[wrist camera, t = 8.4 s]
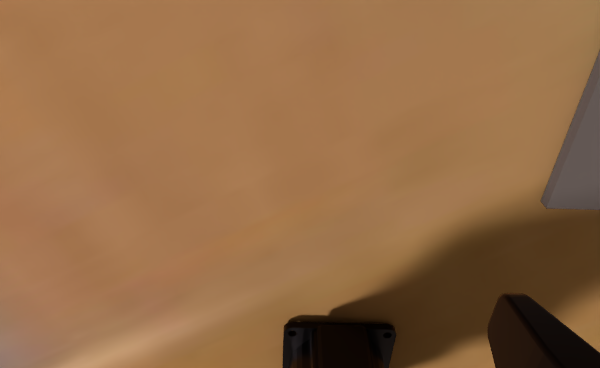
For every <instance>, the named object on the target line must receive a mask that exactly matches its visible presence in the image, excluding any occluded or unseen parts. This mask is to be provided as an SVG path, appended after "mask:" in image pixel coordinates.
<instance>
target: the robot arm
mask: <svg viewBox="0 0 600 368" xmlns="http://www.w3.org/2000/svg"><path fill="white" fill-rule="evenodd" d="M292 330H293V331H292ZM395 338H396V332H395V328H394V326H393V325H390V324H362V323H313V322H289V323H287V324H286V325H285V326H284V339H283V368H389V364H390V360H391V355H392V351H393V346H394V342H395ZM488 339H489V343H490V347H491V351H492V355H493V359H494V363H495V367H496V368H600V353H599V352H598V351H597V350H596V349H594V348H593V347H592V346H591V345H589V344H588V343H587V342H586V341H584V340H583V339H582V338H581V337H579V336H578V335H577V334H576V333H574V332H573V331H572V330H571V329H569V328H568V327H567V326H565V325H564V324H563V323H562V322H560V321H559V320H558V319H557V318H555V317H554V316H553V315H552V314H550V313H549V312H548V311H547V310H545V309H544V308H543V307H542V306H540V305H539V304H538V303H537V302H535V301H534V300H533V299H532V298H530V297H529V296H527V295H525V294H517V293H504V294H502V295H500V296H499V298H498V300H497V303H496V305H495V308H494V310H493V313H492V315H491V318H490V321H489V324H488Z"/></svg>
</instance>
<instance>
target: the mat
mask: <svg viewBox="0 0 600 368" xmlns="http://www.w3.org/2000/svg"><path fill="white" fill-rule="evenodd" d="M541 202H542V203H543V205H544V206H545V207H546V208H551V209H587V210H600V51H599V54H598V56H597V59H596V62H595V64H594V67H593V69H592V72H591V74H590V77H589V79H588V82H587V84H586V87H585V90H584V92H583V95H582V97H581V100H580V102H579V105H578V107H577V110H576V112H575V115H574V118H573V120H572V123H571V125H570V128H569V130H568V133H567V135H566V138H565V140H564V143H563V146H562V148H561V151H560V153H559V156H558V158H557V161H556V163H555V166H554V168H553V171H552V174H551V176H550V179H549V181H548V184H547V186H546V189H545V191H544V194H543V196H542V199H541Z"/></svg>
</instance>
